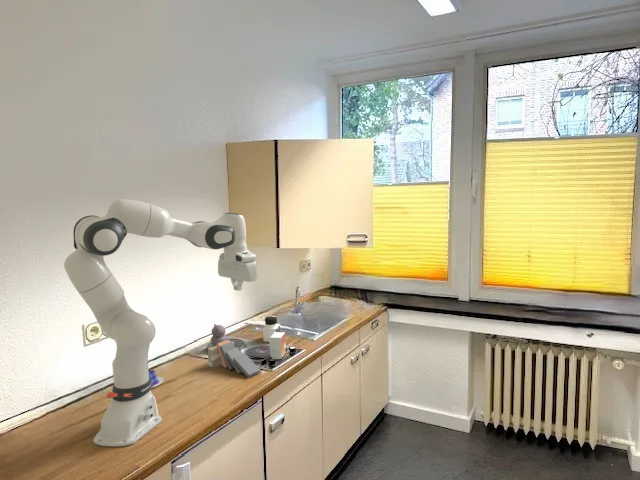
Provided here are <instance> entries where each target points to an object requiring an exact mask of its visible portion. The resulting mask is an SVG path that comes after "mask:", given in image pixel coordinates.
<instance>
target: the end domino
mask: <svg viewBox="0 0 640 480" xmlns="http://www.w3.org/2000/svg"><path fill="white" fill-rule="evenodd" d="M230 341H231V340H230V339H227V340H226V341H223V342H220V343H218V344H216V346H217V348H218V351H219V354H220V356H221V359H222V362H223V364H222V365H223V367H224V369H226V368H228V365H227V363H226V361H225V359H224V356H223V354H222V352H221V350H220V346H221V345H224V344H227V343H230Z"/></svg>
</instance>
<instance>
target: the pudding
mask: <svg viewBox="0 0 640 480" xmlns="http://www.w3.org/2000/svg"><path fill="white" fill-rule="evenodd" d="M148 370H149V377H150V379H151V389H153V388H155V387H157V386H160V385H161V384H162V383H164V377H161V376H160V375H159V376H158V375H157V374H156V373H157V372H156V371H155V370H154V369H151V368H150V369H148Z"/></svg>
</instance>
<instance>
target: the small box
mask: <svg viewBox="0 0 640 480" xmlns="http://www.w3.org/2000/svg"><path fill="white" fill-rule="evenodd" d="M286 338H287V337H286V332H285V331H283V332H282V331H280V332H274V333H273V334H272V335H271V337H269V342H268V343H269V357H270V356H273V357H275V358H281V359H282V357H283V356H284V354H285V353H286V354H287V343H286ZM284 357H285V356H284ZM284 357H283V358H284ZM282 360H283V359H282Z"/></svg>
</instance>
